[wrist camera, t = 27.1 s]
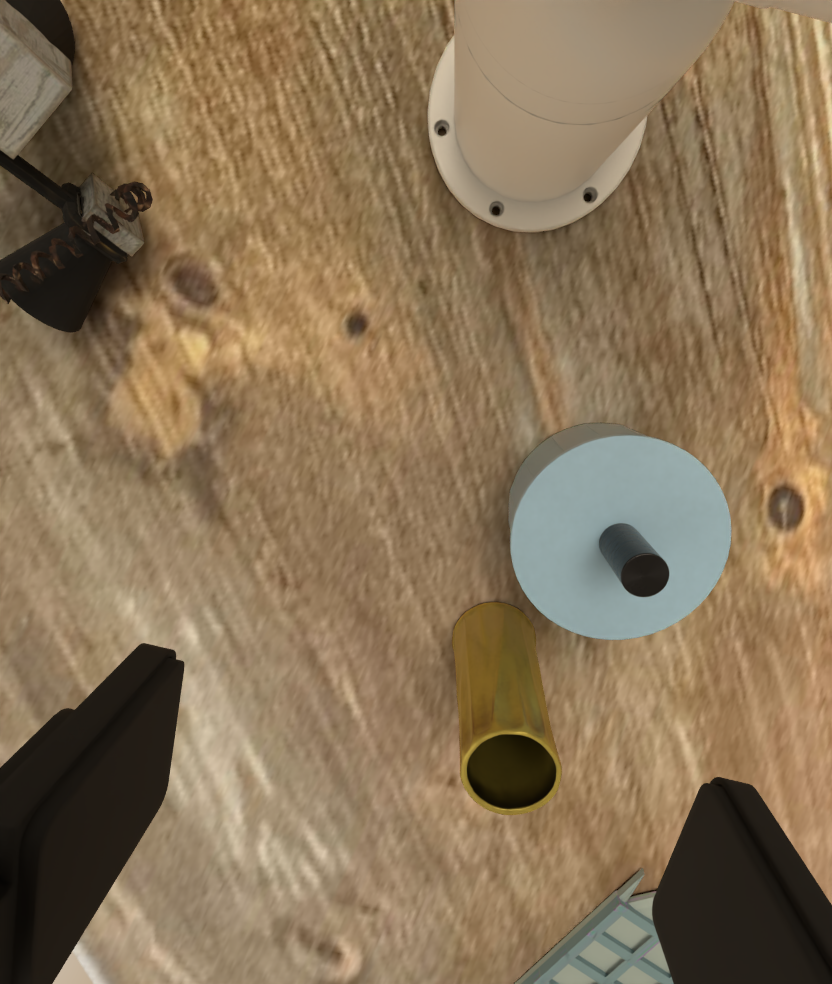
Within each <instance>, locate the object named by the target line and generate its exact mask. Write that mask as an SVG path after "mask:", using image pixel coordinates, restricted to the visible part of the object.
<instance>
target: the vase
mask: <svg viewBox="0 0 832 984" xmlns="http://www.w3.org/2000/svg"><path fill="white" fill-rule="evenodd" d="M452 647H453V650H454V655H455V665H456V686H457V702H458V712H459V729H460V734H459V741H460V777H461V781H462V783H463V785H464V788H465V790H466V791H467V792H468V794H469V795H470V797H471V798H472V799H473V800H474V801H475V802H476V803H478V804H479V805H480V806H482V807H484V808H485V809H487V810H489V811H492V812H495V813H498V814H502V815H517V814H524V813H528V812H531V811H533V810H536V809H538V808H540V807H542V806H543V805H545V804H546V803H548V802H549V801H550V800H551V798H552V797H553V796H554V795H555V793H556V792H557V790H558V788H559V784H560V780H561V775H562V766H561V762H560V759H559V756H558V752H557V749H556V745H555V741H554V737H553V734H552V730H551V726H550V721H549V716H548V712H547V707H546V701H545V695H544V691H543V685H542V680H541V674H540V668H539V663H538V658H537V653H536V635H535V630H534V627H533V625H532V623H531V621H530V620H529V619H528V618H527V617H526V615H525V614H524V613H523V612H521V611H520V610H519V609H517V608H515V607H513V606H511V605H508V604H505V603H499V602H489V603H484V604H480V605H478V606H475V607H473V608H471V609H470V610H468V611H467V612H465V613H464V614H463V615H462V616H461V618H460V619H459V620H458V622H457V623H456V625H455V628H454V631H453V637H452Z"/></svg>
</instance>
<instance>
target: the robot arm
mask: <svg viewBox="0 0 832 984" xmlns="http://www.w3.org/2000/svg"><path fill="white" fill-rule="evenodd" d="M734 1H735V2H739V3H743V4H746V5H750V6H754V7H758V8H769V7H773V8H777V9H781V10H784V11H788V12H792V13H796V14H799V15H803V16H807V17H811V18H814V19H818V20H822V21H826V22H829V23H832V0H454V7H455V16H454V36H453V37H452V39H451V40H450V41H449V43H448V44H447V46H446V48H445V50H444V52H443V54H442V56H441V58H440V61H439V63H438V65H437V67H436V70H435V74H434V77H433V81H432V85H431V88H430V95H429V104H428V130H429V139H430V144H431V150H432V153H433V156H434V159H435V162H436V165H437V168H438V171H439V173H440V175H441V177H442V178H443V180H444V182H445V184H446V185H447V187H448V189H449V190H450V192H451V193H452V194H453V195H454V196H455V198H456V199H457V200H458V201H459V202H460V203H461V205H462V206H464V207H465V208H466V209H467V210H469V211H470V212H471V213H472V214H474V215H475V216H476V217H477V218H479V219H481V220H483V221H485V222H487V223H489V224H491V225H493V226H495V227H499V228H503V229H506V230H510V231H514V232H531V233H534V232H541V231H548V230H554V229H557V228H559V227H562V226H565V225H568V224H571V223H573V222H575V221H576V220H578V219H580V218H582V217H583V216H585V215H587V214H588V213H590V212H591V211H593V210H594V209H595V208H596V207H598V206H599V205H600V204H601V203H602V202H603V201H604V200H605V199H606V198H607V197H608V196H609V195H610V194H611V193H612V192H613V191H614V190H615V189H616V188H617V187H618V186H619V184H620V183H621V181H622V180H623V178H624V177H625V175H626V174H627V172H628V171H629V170H630V168H631V166H632V164H633V161H634V159H635V157H636V155H637V153H638V151H639V149H640V146H641V142H642V138H643V135H644V131H645V127H646V122H647V115H648V114H649V113H650V112H651V110H652V109H653V108H654V107H655V106H656V105H657V104H658V103H659V102H660V101H661V100H662V99H663V97H664V96H665V95H666V94H667V93H668V92H669V91H670V90H671V89H672V87H673V86H674V85H675V84H676V83H677V82H678V81H679V79H680V78H681V77H682V76H683V75H684V74H685V73H686V72H687V71H688V69H689V68H690V67H691V66H692V65H693V64H694V63H695V62H696V60H697V59H698V58H699V57H700V56H701V54H702V53H703V52H704V51H705V50H706V48H707V47H708V45H709V44H710V42H711V41H712V39H713V38H714V37H715V35H716V34H717V32H718V31H719V29H720V28H721V26H722V24H723V23H724V21H725V19H726V17H727V16H728V14H729V12H730V10H731V8H732V5H733V3H734ZM441 128H444V129H445V130H446V134H445V135H444V136H440V135H439V134H438V131H439V129H441ZM586 193H587V194H590V195H591V201H589V202H586V201H585V200H584V194H586ZM494 207H498V208H499V209H500V213H499V214H498V215H494V214H493V213H492V209H493V208H494ZM183 674H184V662H183V661H180V660H176V652H175V651H174V650H171V649H167V648H163V647H158V646H154V645H150V644H145V643H142V644H140V645H139V646H138V647H137V648H136V649H135V650H134V651H133V652H132V653H131V654H130V655H129V656H128V657H127V658H126V659H125V660H124V661H123V662H122V663H121V664H120V665H119V666H118V667H117V668H116V669H115V670H114V671H113V672H112V673H111V674H110V675H109V676H108V677H107V678H106V679H105V680H104V681H103V682H102V683H101V684H100V685H99V686H98V687H97V688H96V689H95V690H94V691H93V692H92V693H91V694H90V695H89V696H88V697H87V698H86V699H85V700H84V701H83V702H82V703H81V704H80V705H79V706H78V707H77V708H76V709H75V710H73V709H69V708H67V709H63V710H61V711H59V712H58V713H57V714H56V715H54V716H53V717H52V718H51V719H50V720H49V721H48V722H47V723H46V724H45V725H44V726H43V727H42V728H41V729H40V730H39V731H38V732H37V733H36V734H35V735H34V736H33V737H32V738H30V739H29V740H28V741H27V742H26V743H25V744H24V745H23V746H22V747H21V748H20V749H19V750H18V751H17V752H16V753H15V754H14V755H13V756H12V757H11V758H10V759H9V760H8V761H7V762H6V763H5V764H4V765H3V766H2V767H1V768H0V984H52V983H53V982H54V980H55V978H56V977H57V975H58V973H59V972H60V970H61V969H62V967H63V965H64V964H65V962H66V960H67V958H68V957H69V955H70V954H71V952H72V951H73V949H74V947H75V946H76V944H77V942H78V941H79V939H80V937H81V936H82V934H83V933H84V931H85V929H86V928H87V926H88V924H89V923H90V921H91V919H92V918H93V916H94V915H95V913H96V911H97V910H98V908H99V906H100V905H101V903H102V902H103V900H104V898H105V897H106V895H107V893H108V892H109V890H110V888H111V887H112V885H113V884H114V882H115V880H116V879H117V877H118V875H119V874H120V872H121V870H122V869H123V867H124V866H125V864H126V862H127V861H128V859H129V857H130V856H131V854H132V852H133V851H134V849H135V848H136V846H137V844H138V843H139V841H140V839H141V838H142V836H143V834H144V833H145V831H146V830H147V828H148V826H149V825H150V823H151V821H152V820H153V818H154V817H155V815H156V813H157V812H158V810H159V808H160V806H161V804H162V802H163V800H164V797H165V794H166V791H167V787H168V782H169V774H170V767H171V760H172V753H173V746H174V738H175V731H176V724H177V717H178V710H179V702H180V695H181V688H182V681H183ZM652 918H653V923H654V926H655V929H656V932H657V935H658V938H659V941H660V944H661V947H662V950H663V953H664V956H665V959H666V962H667V965H668V968H669V971H670V974H671V977H672V980H673V983H674V984H832V905H831V903H830V902H829V900H828V899H827V897H826V896H825V894H824V893H823V891H822V890H821V888H820V886H819V885H818V883H817V882H816V880H815V879H814V877H813V876H812V874H811V873H810V871H809V870H808V868H807V867H806V865H805V864H804V862H803V861H802V859H801V857H800V856H799V854H798V853H797V851H796V850H795V848H794V847H793V845H792V844H791V842H790V841H789V839H788V838H787V836H786V835H785V833H784V831H783V830H782V828H781V827H780V825H779V824H778V822H777V821H776V819H775V818H774V816H773V815H772V813H771V812H770V810H769V809H768V807H767V805H766V804H765V802H764V801H763V799H762V798H761V796H760V795H759V793H758V792H757V790H756V789H755V788H754V787H753V786H752V785H749V784H746V783H742V782H738V781H733V780H729V779H725V778H721V777H716V778H714V779H713V780H712V781H711V782H710V784H708V783H705V784H703V785H702V786H701V787H700V789H699V791H698V794H697V796H696V798H695V801H694V803H693V806H692V808H691V810H690V813H689V815H688V817H687V820H686V822H685V825H684V827H683V829H682V832H681V834H680V837H679V839H678V841H677V844H676V846H675V848H674V851H673V853H672V856H671V858H670V860H669V863H668V865H667V867H666V870H665V872H664V875H663V877H662V879H661V882H660V884H659V886H658V889H657V891H656V894H655V896H654V899H653V904H652Z"/></svg>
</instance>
